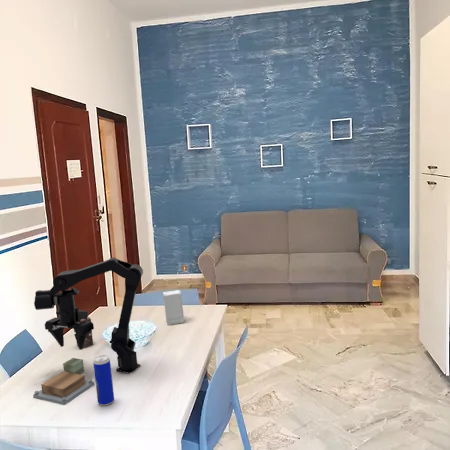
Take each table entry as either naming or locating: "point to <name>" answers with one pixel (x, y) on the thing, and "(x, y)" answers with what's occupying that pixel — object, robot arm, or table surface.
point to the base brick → (63, 384)
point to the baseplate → (63, 399)
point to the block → (74, 366)
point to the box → (88, 338)
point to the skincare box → (173, 307)
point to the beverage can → (103, 380)
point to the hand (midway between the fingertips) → (71, 347)
